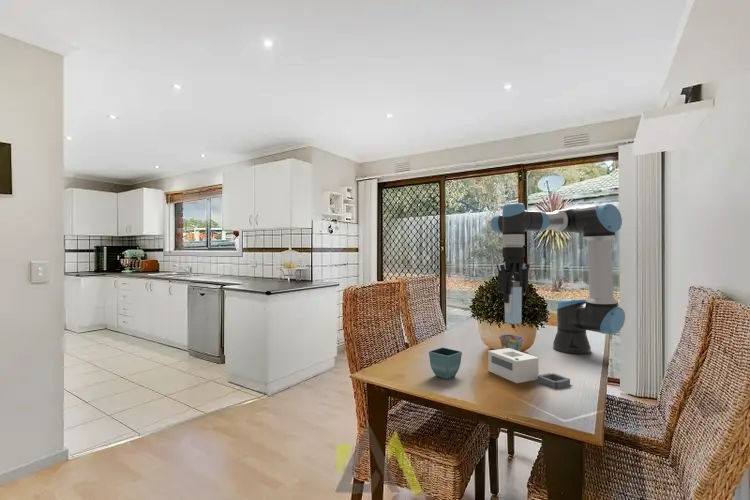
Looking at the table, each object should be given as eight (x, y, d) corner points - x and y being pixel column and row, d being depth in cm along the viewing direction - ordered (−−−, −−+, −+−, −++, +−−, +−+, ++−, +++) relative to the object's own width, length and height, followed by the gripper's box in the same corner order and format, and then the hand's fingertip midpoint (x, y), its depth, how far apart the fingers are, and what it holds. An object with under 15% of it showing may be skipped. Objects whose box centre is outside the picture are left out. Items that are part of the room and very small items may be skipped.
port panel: (508, 368, 141) (508, 346, 141) (538, 380, 128) (538, 356, 128) (487, 372, 137) (487, 349, 137) (516, 385, 124) (516, 360, 124)
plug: (513, 321, 135) (513, 280, 135) (521, 323, 131) (521, 281, 131) (504, 322, 133) (504, 280, 133) (513, 324, 129) (513, 281, 129)
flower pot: (442, 370, 139) (442, 346, 139) (462, 376, 133) (462, 351, 133) (428, 376, 133) (428, 351, 133) (448, 382, 126) (448, 356, 126)
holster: (552, 379, 129) (552, 372, 129) (572, 387, 122) (572, 379, 122) (535, 382, 126) (535, 375, 126) (555, 390, 119) (555, 383, 119)
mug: (528, 366, 144) (528, 339, 144) (507, 368, 142) (507, 340, 142) (510, 357, 156) (510, 332, 156) (491, 358, 154) (491, 333, 154)
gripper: (523, 246, 139) (522, 308, 139) (487, 246, 132) (487, 311, 132) (539, 246, 132) (538, 311, 132) (502, 246, 125) (502, 315, 125)
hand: (513, 311), depth 132 cm, fingers closed on plug, 4 cm apart
